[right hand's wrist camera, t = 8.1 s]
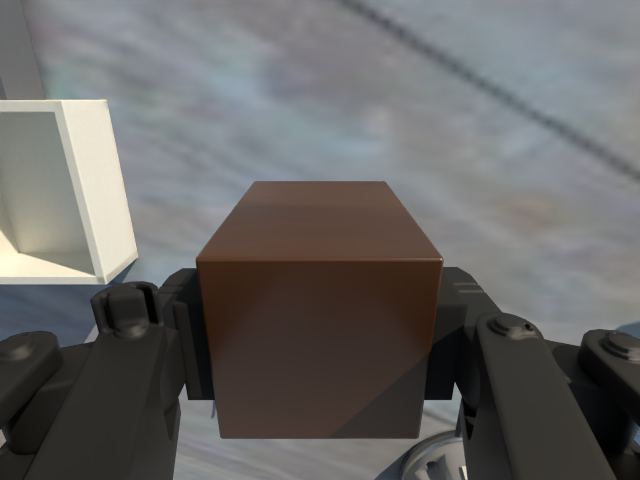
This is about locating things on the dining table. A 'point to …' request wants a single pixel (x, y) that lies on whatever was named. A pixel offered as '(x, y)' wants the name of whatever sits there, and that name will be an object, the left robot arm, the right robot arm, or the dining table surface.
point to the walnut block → (319, 312)
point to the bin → (55, 176)
